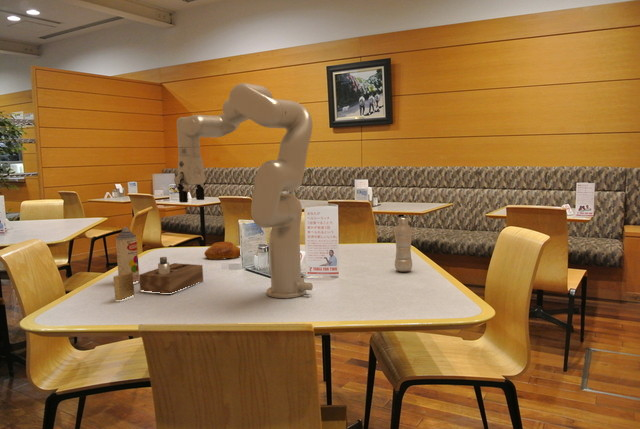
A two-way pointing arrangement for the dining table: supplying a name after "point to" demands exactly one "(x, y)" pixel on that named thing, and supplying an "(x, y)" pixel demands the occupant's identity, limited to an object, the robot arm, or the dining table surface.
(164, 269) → the small grey capped bottle
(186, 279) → the socket block
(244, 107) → the robot arm
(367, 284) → the dining table surface
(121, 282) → the tan wooden block
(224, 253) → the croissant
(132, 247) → the aerosol can
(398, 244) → the plastic bottle
